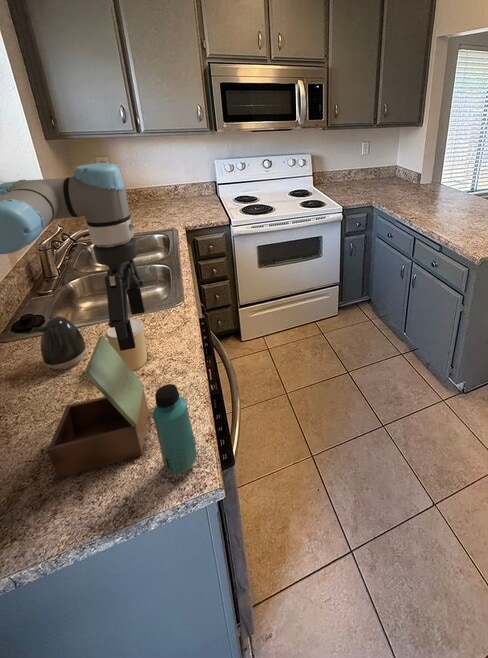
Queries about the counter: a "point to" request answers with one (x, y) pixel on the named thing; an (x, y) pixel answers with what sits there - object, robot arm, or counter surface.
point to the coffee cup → (137, 354)
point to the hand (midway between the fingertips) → (133, 329)
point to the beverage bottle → (174, 430)
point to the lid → (115, 380)
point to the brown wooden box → (95, 437)
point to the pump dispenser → (61, 343)
